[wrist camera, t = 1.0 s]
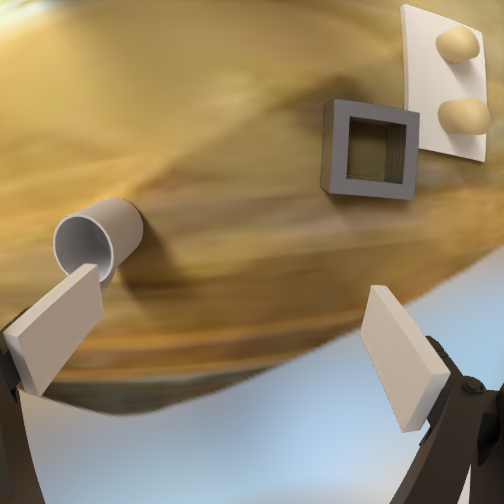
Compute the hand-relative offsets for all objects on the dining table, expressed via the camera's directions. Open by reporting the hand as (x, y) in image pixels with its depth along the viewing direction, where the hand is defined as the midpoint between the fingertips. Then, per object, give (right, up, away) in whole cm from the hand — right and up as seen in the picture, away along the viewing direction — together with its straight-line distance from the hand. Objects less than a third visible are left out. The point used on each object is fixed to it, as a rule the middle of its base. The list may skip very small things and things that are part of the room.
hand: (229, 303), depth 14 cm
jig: (+24, +23, +14) cm, 36 cm away
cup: (-15, +4, +22) cm, 27 cm away
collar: (+13, +14, +18) cm, 26 cm away
